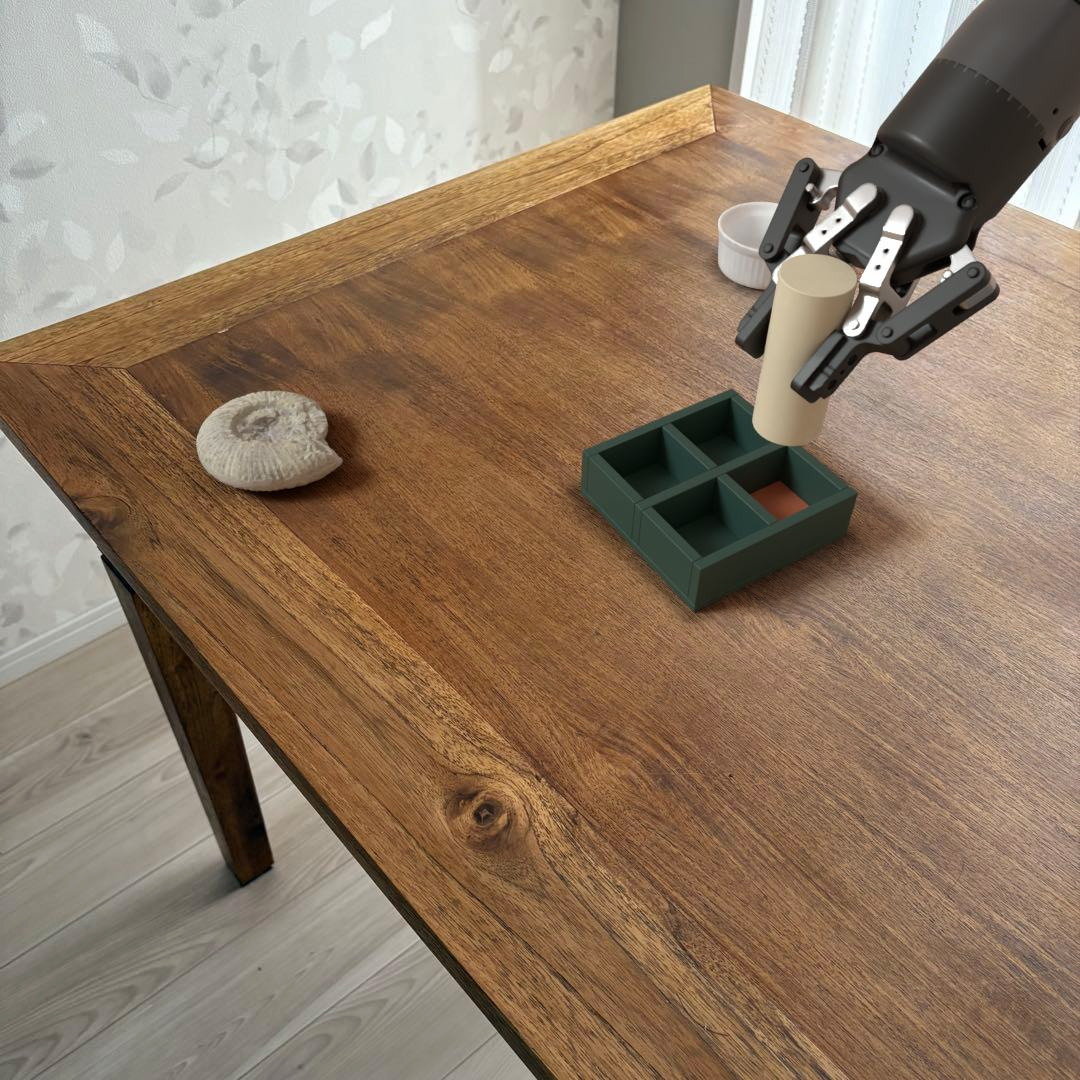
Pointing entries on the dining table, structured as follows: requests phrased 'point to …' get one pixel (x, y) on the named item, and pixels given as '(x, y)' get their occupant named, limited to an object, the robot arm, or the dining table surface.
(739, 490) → the grid
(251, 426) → the fossil
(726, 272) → the ramekin
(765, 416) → the cylinder
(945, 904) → the dining table surface
